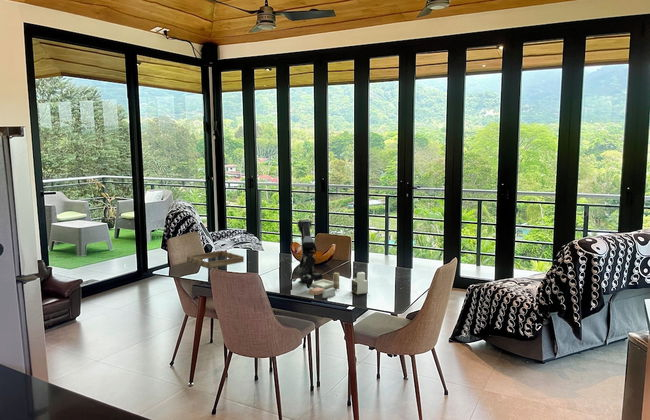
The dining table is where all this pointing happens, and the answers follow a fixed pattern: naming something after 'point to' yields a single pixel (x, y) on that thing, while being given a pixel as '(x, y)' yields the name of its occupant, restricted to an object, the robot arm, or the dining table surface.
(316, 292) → the peach rectangular block
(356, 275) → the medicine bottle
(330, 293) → the grey sanding sponge
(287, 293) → the dining table surface
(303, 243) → the robot arm
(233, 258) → the frame
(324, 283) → the tray
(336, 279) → the dowel
